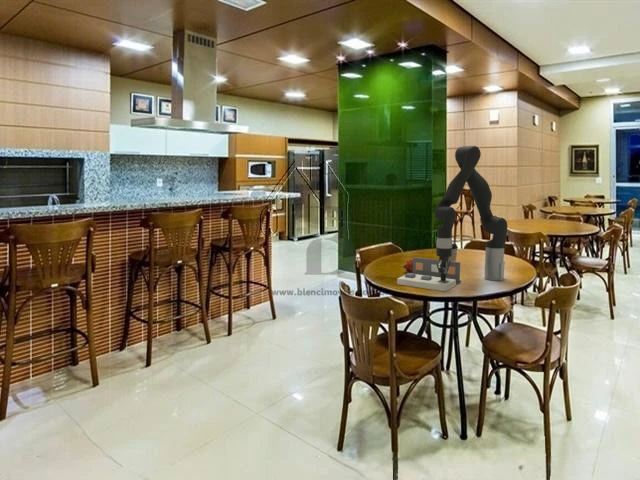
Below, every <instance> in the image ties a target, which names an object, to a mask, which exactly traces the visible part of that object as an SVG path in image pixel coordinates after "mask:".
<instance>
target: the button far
mask: <svg viewBox="0 0 640 480" xmlns="http://www.w3.org/2000/svg"><path fill="white" fill-rule="evenodd" d="M404 275H405V277H406V278H415V274H413V272H411V273H409V272H406V274H404Z"/></svg>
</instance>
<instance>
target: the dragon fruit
mask: <svg viewBox="0 0 640 480" xmlns="http://www.w3.org/2000/svg"><path fill="white" fill-rule="evenodd" d="M402 268H403V269H405V270H404V271H405V272H406V273H413V259H410V260H408V261H406V263H405V264H404V265H403V267H402Z"/></svg>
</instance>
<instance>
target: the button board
mask: <svg viewBox="0 0 640 480" xmlns="http://www.w3.org/2000/svg"><path fill="white" fill-rule="evenodd" d="M421 276H423V275H418V274H415V278H406V277H405V274H404V275H402V276H400V277H398V278H397V279H396V280H397V281H396V283H397V284H396V285H400V286H405V287H406V286H408V287H414V288H420V289H426V290H431V291H432V290H433V291H439V292H447V291H449V290H451V289H452V288H454V287H455V286H457V284H456V280H455V279H448V278H446V281H449V282H447V283H441V282H438V281H440V280H441V278H440V277H433V276H432V279H431V280H430V281H427V280H421Z"/></svg>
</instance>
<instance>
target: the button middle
mask: <svg viewBox="0 0 640 480" xmlns="http://www.w3.org/2000/svg"><path fill="white" fill-rule="evenodd" d="M431 279H432V276H428V275H423V276H421V280H427V281H430V280H431Z"/></svg>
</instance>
